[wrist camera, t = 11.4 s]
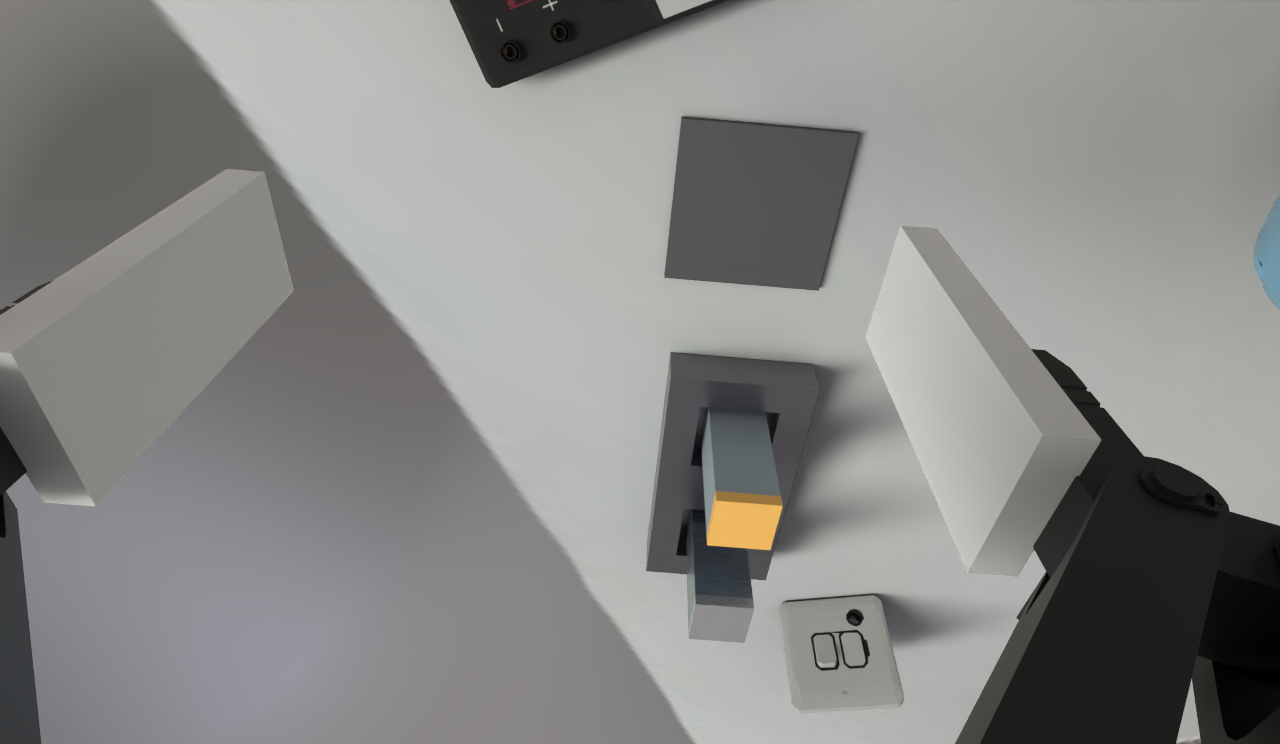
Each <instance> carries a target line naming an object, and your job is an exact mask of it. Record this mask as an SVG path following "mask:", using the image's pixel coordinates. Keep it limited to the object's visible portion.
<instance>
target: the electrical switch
mask: <svg viewBox="0 0 1280 744" xmlns="http://www.w3.org/2000/svg"><path fill="white" fill-rule="evenodd" d="M778 617H779V623H780V628H781V635H782V641H783V648H784V654H785V660H786V667H787V673H788V680H789V686H790V691H789V692H790V700H791V705H792V707H793V709H794V710H795V711H796V713H816V712H832V711H849V710H865V709H882V708H897V707H900V706H901V705H902V703H903V700H904V694H903V690H902V686H901V681H900V677H899V673H898V669H897V665H896V660H895V656H894V652H893V648H892V644H891V640H890V635H889V631H888V627H887V623H886V619H885V614H884V610H883V606H882V602H881V600H880V599H879V598H878V597H877V596H874V595H868V596H856V597H843V598H831V599H819V600H807V601H795V602H784V603H782V604H781V606H780V607H779V610H778ZM853 618H856V619H857V620H858V621H859V623H858V624H853V623H851V622H850V621H849V619H853Z"/></svg>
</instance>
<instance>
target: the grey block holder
mask: <svg viewBox="0 0 1280 744" xmlns="http://www.w3.org/2000/svg"><path fill="white" fill-rule="evenodd" d="M819 392H820V388H819V385H818V381H817V378H816V375H815V371H814V368H813V365H812V364H805V363H793V362H781V361H768V360H756V359H744V358H732V357H720V356H707V355H695V354H683V353H670V362H669V370H668V378H667V386H666V394H665V402H664V411H663V419H662V427H661V435H660V443H659V451H658V459H657V468H656V476H655V484H654V492H653V500H652V508H651V517H650V525H649V533H648V541H647V567H646V571H653V572H666V573H679V574H687V594H688V630H689V639H701V640H714V641H728V642H741V643H744V642H745V639H746V635H747V632H748V628H749V625H750V621H751V618H752V614H753V610H754V604H753V596H752V587H751V579H757V580H766V577H767V573H768V570H769V566H770V563H771V559H772V556H773V552H774V549H775V545H776V542H777V538H778V535H779V531H780V528H781V524H782V521H783V517H784V514H785V510H786V507H787V503H788V500H789V496H790V493H791V489H792V486H793V482H794V479H795V475H796V472H797V468H798V465H799V461H800V458H801V454H802V451H803V447H804V444H805V440H806V437H807V433H808V430H809V427H810V423H811V420H812V416H813V413H814V409H815V406H816V402H817V399H818V395H819ZM707 407H709V408H722V409H734V410H746V411H759V412H766V418H767V423H768V428H769V434H770V439H771V445H772V450H773V456H774V461H775V466H776V472H777V477H778V483H779V488H780V494H781V499H782V504H783V507H782V510H781V514H780V518H779V521H778V525H777V528H776V532H775V535H774V539H773V542H772V546H771V550H761V549H748V548H735V547H722V546H709V545H707V534H706V517H705V500H704V483H703V466H702V449H701V438H702V432H703V426H704V420H705V414H706V408H707Z"/></svg>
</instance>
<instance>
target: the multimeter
mask: <svg viewBox="0 0 1280 744" xmlns="http://www.w3.org/2000/svg"><path fill="white" fill-rule="evenodd" d="M725 1H727V0H450V2H451V4H452V7H453V9H454V11H455V13H456V15H457V18H458V20H459V22H460V24H461V27H462V29H463V31H464V33H465V35H466V38H467V40H468V42H469V44H470V46H471V49H472V51H473V53H474V55H475V57H476V60H477V62H478V64H479V66H480V69H481V71H482V73H483V75H484V77H485V80H486V81H487V83H488V84H489V85H490V86H491V87H492V88H500V87H502V86H505V85H508V84H510V83H513V82H516V81H518V80H521V79H523V78H526V77H529V76H531V75H534V74H536V73H539V72H542V71H544V70H547V69H550V68H552V67H555V66H557V65H560V64H563V63H565V62H568V61H570V60H573V59H576V58H578V57H581V56H583V55H586V54H589V53H591V52H594V51H597V50H599V49H602V48H604V47H607V46H610V45H612V44H615V43H617V42H620V41H623V40H625V39H628V38H631V37H633V36H636V35H638V34H641V33H644V32H646V31H649V30H651V29H654V28H657V27H659V26H662V25H665V24H667V23H670V22H672V21H675V20H678V19H680V18H683V17H685V16H688V15H691V14H693V13H696V12H699V11H701V10H704V9H706V8H709V7H712V6H714V5H717V4H719V3H722V2H725Z"/></svg>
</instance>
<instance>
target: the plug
mask: <svg viewBox="0 0 1280 744" xmlns="http://www.w3.org/2000/svg"><path fill="white" fill-rule="evenodd" d="M701 449H702V466H703V483H704V500H705V517H706V534H707V545H709V546H722V547H735V548H748V549H761V550H771V546H772V542H773V539H774V535H775V532H776V528H777V525H778V521H779V518H780V514H781V510H782V507H783V504H782V499H781V494H780V488H779V483H778V477H777V472H776V466H775V461H774V456H773V450H772V445H771V439H770V434H769V428H768V423H767V418H766V412H759V411H746V410H734V409H722V408H709V407H707V408H706V414H705V420H704V426H703V432H702V438H701Z"/></svg>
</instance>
